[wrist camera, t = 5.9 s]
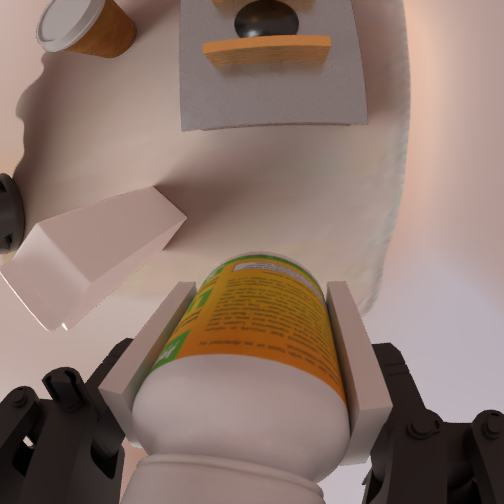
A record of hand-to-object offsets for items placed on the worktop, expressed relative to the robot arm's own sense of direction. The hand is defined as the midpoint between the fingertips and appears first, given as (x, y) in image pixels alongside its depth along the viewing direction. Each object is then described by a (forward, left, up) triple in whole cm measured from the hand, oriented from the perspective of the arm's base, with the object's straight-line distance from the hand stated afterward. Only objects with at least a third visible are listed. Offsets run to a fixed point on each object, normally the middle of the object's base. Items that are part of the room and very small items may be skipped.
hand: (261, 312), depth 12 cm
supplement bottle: (0, 0, -1) cm, 1 cm away
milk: (-15, 0, -21) cm, 26 cm away
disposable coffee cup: (-20, +26, -21) cm, 39 cm away
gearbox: (0, +20, -21) cm, 29 cm away
